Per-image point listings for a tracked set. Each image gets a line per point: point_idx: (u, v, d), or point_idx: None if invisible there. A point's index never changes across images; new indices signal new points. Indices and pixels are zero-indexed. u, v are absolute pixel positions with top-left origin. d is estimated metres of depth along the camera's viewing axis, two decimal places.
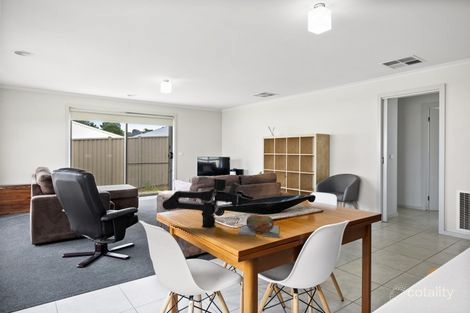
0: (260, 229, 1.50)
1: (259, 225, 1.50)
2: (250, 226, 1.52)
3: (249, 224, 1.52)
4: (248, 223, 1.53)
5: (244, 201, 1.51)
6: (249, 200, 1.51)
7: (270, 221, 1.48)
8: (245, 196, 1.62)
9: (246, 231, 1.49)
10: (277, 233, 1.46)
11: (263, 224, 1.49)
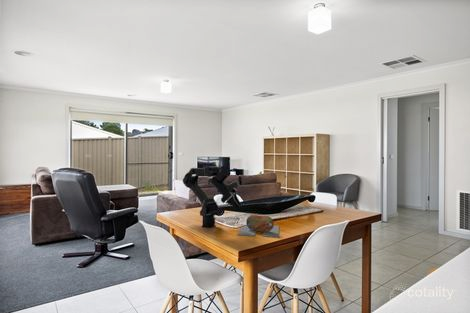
0: (260, 229, 1.50)
1: (259, 225, 1.50)
2: (250, 226, 1.52)
3: (249, 224, 1.52)
4: (248, 223, 1.53)
5: (233, 203, 1.49)
6: (237, 206, 1.49)
7: (270, 221, 1.48)
8: (235, 198, 1.56)
9: (246, 231, 1.49)
10: (277, 233, 1.46)
11: (263, 224, 1.49)
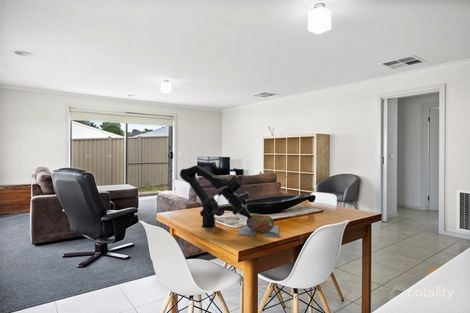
0: (260, 229, 1.50)
1: (259, 225, 1.50)
2: (250, 226, 1.52)
3: (249, 224, 1.53)
4: (248, 223, 1.53)
5: (245, 214, 1.51)
6: (249, 216, 1.51)
7: (270, 221, 1.48)
8: None
9: (246, 231, 1.49)
10: (277, 233, 1.46)
11: (263, 224, 1.50)
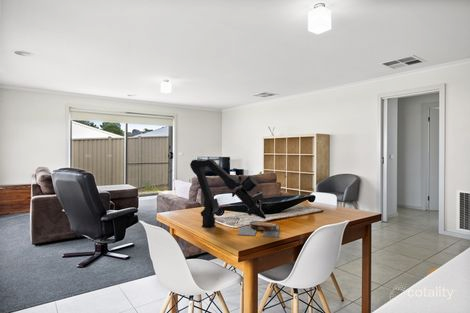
0: (262, 225, 1.53)
1: (262, 224, 1.55)
2: (253, 224, 1.56)
3: (252, 223, 1.57)
4: (251, 223, 1.58)
5: (259, 214, 1.50)
6: (263, 217, 1.50)
7: (274, 224, 1.55)
8: None
9: (246, 231, 1.49)
10: (277, 233, 1.46)
11: (266, 224, 1.54)
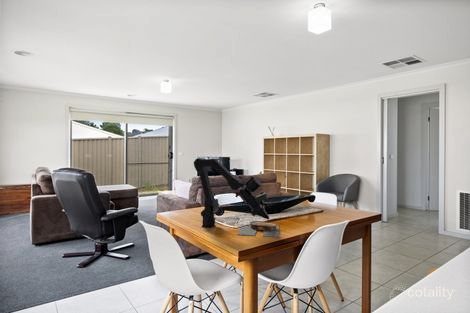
0: (262, 225, 1.53)
1: (262, 224, 1.55)
2: (253, 224, 1.56)
3: (252, 223, 1.57)
4: (251, 223, 1.58)
5: (263, 215, 1.49)
6: (267, 217, 1.50)
7: (274, 224, 1.55)
8: None
9: (246, 231, 1.49)
10: (277, 233, 1.46)
11: (266, 224, 1.54)
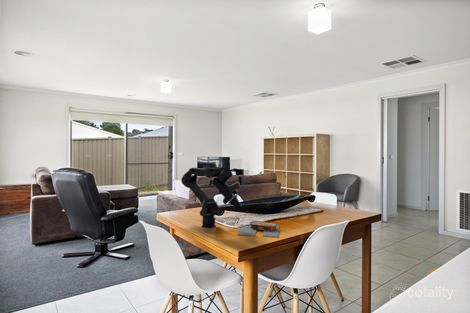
0: (262, 225, 1.53)
1: (262, 224, 1.55)
2: (253, 224, 1.56)
3: (252, 223, 1.57)
4: (251, 223, 1.58)
5: (235, 203, 1.52)
6: (239, 206, 1.52)
7: (274, 224, 1.55)
8: None
9: (246, 231, 1.49)
10: (277, 233, 1.46)
11: (266, 224, 1.54)
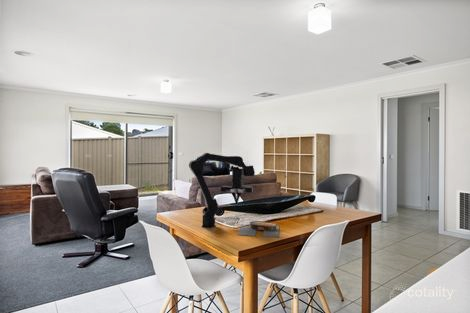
0: (262, 225, 1.53)
1: (262, 224, 1.55)
2: (253, 224, 1.56)
3: (252, 223, 1.57)
4: (251, 223, 1.58)
5: (238, 197, 1.65)
6: (237, 201, 1.66)
7: (274, 224, 1.55)
8: None
9: (246, 231, 1.49)
10: (277, 233, 1.46)
11: (266, 224, 1.54)
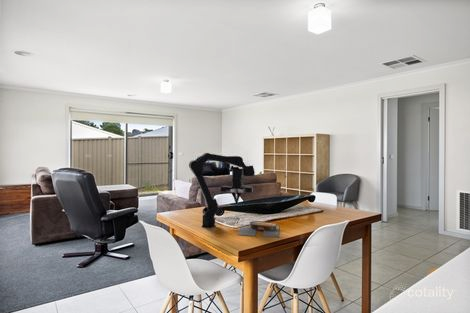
0: (262, 225, 1.53)
1: (262, 224, 1.55)
2: (253, 224, 1.56)
3: (252, 223, 1.57)
4: (251, 223, 1.58)
5: (238, 197, 1.65)
6: (237, 201, 1.66)
7: (274, 224, 1.55)
8: None
9: (246, 231, 1.49)
10: (277, 233, 1.46)
11: (266, 224, 1.54)
